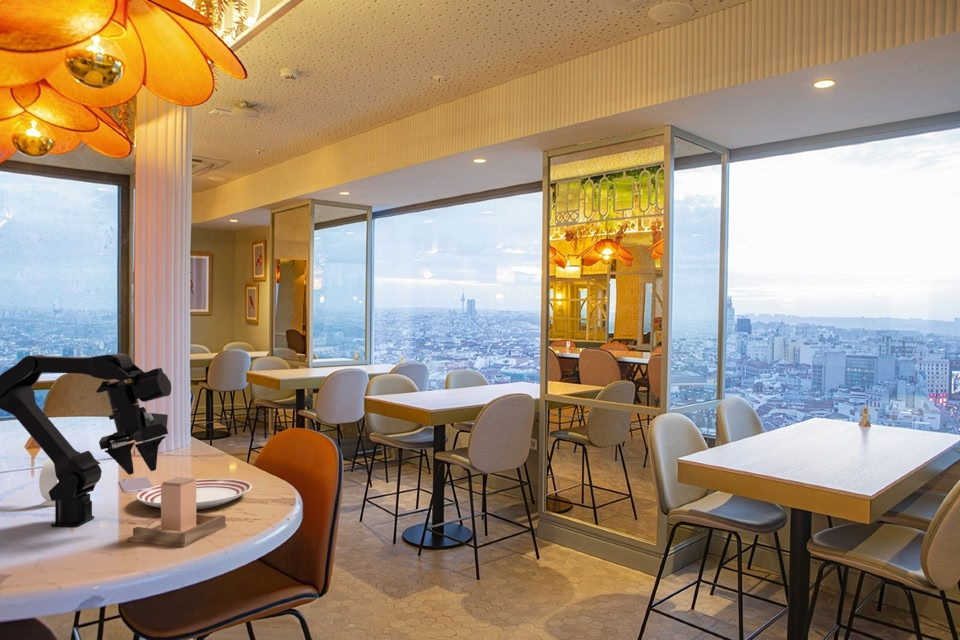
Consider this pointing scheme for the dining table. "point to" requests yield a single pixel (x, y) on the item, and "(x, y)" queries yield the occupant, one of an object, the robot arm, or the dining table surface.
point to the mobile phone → (135, 484)
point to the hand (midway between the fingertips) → (142, 472)
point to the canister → (178, 504)
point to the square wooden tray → (180, 532)
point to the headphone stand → (47, 481)
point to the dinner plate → (202, 492)
